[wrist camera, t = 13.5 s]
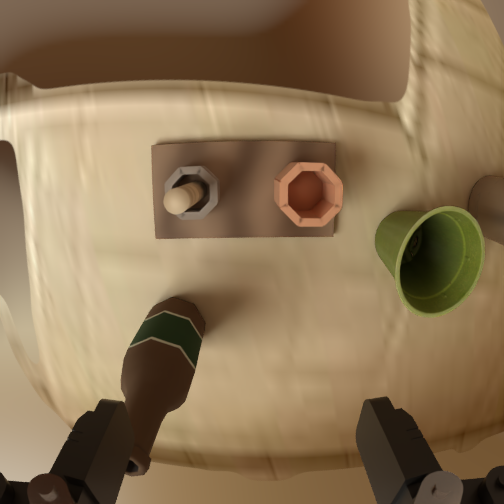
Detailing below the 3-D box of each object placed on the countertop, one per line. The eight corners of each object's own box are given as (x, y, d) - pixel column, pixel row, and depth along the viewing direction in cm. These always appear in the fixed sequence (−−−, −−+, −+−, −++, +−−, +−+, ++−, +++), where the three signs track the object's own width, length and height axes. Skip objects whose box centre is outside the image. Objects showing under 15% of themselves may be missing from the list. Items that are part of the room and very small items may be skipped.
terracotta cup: (327, 163, 36) (343, 163, 30) (326, 216, 37) (341, 226, 31) (274, 162, 35) (279, 161, 30) (273, 216, 37) (279, 226, 31)
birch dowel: (206, 180, 36) (187, 187, 26) (207, 199, 36) (189, 213, 27) (187, 181, 36) (162, 189, 26) (188, 200, 36) (164, 215, 27)
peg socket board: (333, 143, 36) (343, 141, 32) (331, 234, 39) (340, 242, 35) (153, 145, 36) (143, 144, 32) (157, 237, 38) (148, 245, 35)
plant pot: (367, 293, 41) (402, 334, 30) (348, 207, 38) (385, 225, 27) (440, 265, 40) (486, 295, 29) (427, 183, 37) (480, 193, 26)
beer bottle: (202, 293, 41) (161, 437, 17) (209, 346, 43) (185, 496, 20) (144, 296, 41) (61, 424, 17) (155, 347, 43) (98, 485, 20)
